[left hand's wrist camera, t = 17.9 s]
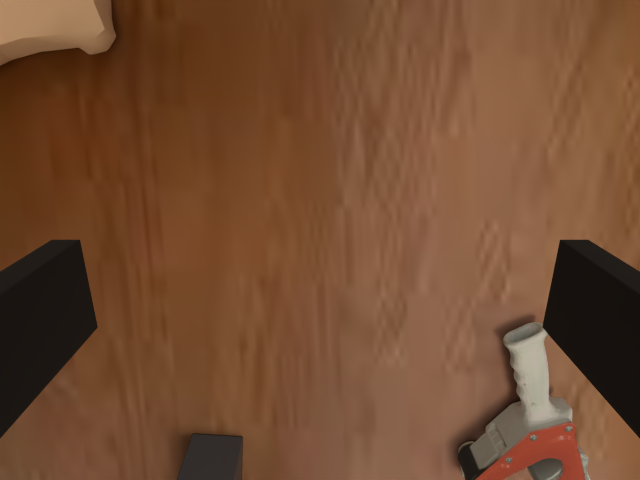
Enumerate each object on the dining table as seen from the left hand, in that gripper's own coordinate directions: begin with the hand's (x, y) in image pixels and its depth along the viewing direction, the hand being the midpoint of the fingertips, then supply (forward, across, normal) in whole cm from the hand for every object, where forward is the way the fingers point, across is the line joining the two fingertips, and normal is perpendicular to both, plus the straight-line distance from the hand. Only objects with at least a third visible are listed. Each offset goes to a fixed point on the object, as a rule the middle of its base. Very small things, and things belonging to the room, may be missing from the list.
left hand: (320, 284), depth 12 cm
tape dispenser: (+28, +22, -29) cm, 46 cm away
